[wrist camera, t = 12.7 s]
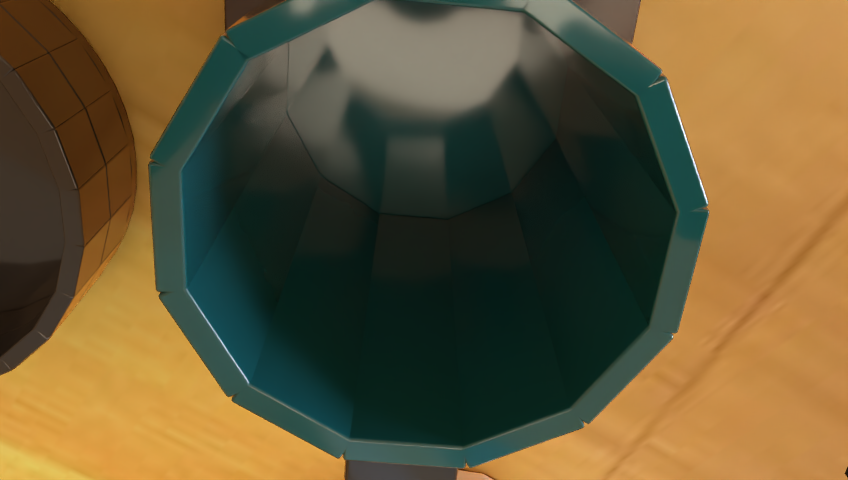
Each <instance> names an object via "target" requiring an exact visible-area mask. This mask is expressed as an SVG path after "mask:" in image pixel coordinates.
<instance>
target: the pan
mask: <svg viewBox="0 0 848 480" xmlns="http://www.w3.org/2000/svg"><path fill="white" fill-rule="evenodd" d="M136 174H137V163H136V156H135V149H134V141H133V136H132V132H131V129H130V125H129V121H128V118H127V114H126V111H125V109H124V106H123V104H122V101H121V99H120V96H119V94H118V92H117V89H116V87H115V85H114V83H113V81H112V79H111V78H110V76H109V74H108V72H107V71H106V69H105V67H104V65H103V63H102V62H101V60H100V59H99V57H98V56H97V54H96V53H95V52H94V50H93V49H92V47H91V46H90V45H89V43H88V42H87V40H86V39H85V38H84V36H83V35H82V34H81V33H80V32H79V31H78V30H77V28H76V27H75V26H74V25H73V24H72V23H71V22H70V21H69V20H68V18H67V17H66V16H65V15H64V14H63V13H62V12H61V11H60V10H59V9H58V8H57V7H55V6H54V5H53V4H52V3H51V2H50V1H49V0H0V375H2V374H5V373H7V372H9V371H12V370H13V369H15V368H16V367H17V366H19V365H20V364H21V363H22V362H23V361H24V360H26V359H27V358H28V357H29V356H30V355H31V354H33V353H34V352H35V351H36V350H37V349H38V348H40V347H41V346H42V345H43V344H44V343H45V342H47V341H48V340H49V339H50V338H51V336H52V335H53V334H54V333H55V331H56V330H57V329H58V328H59V326H60V325H61V324H62V323H63V322H64V320H65V319H66V318H67V317H68V315H69V314H70V313H71V312H72V310H73V309H74V308H75V307H76V305H77V304H78V303H79V302H80V300H81V299H82V298H83V297H84V295H85V294H86V293H87V292H88V290H89V289H90V288H91V287H92V286H93V284H94V283H95V282H96V281H97V279H98V278H99V277H100V276H101V274H102V272H103V271H104V269H105V267H106V266H107V264H108V263H109V261H110V260H111V258H112V257H113V256H114V254H115V253H116V251H117V250H118V248H119V246H120V244H121V242H122V240H123V238H124V236H125V234H126V231H127V228H128V225H129V222H130V219H131V215H132V212H133V207H134V201H135V194H136Z"/></svg>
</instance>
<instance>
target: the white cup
mask: <svg viewBox="0 0 848 480" xmlns="http://www.w3.org/2000/svg"><path fill="white" fill-rule="evenodd" d="M457 480H493V479H492V478H490V477H488V476H486V475H485V474H482V473H475V472H469V471H462V470H458V474H457Z"/></svg>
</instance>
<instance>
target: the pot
mask: <svg viewBox="0 0 848 480" xmlns="http://www.w3.org/2000/svg"><path fill="white" fill-rule="evenodd" d="M150 158H151V159H152V160H151V161H150V162H149V164H148V169H149V185H150V202H151V219H152V235H153V252H154V268H155V285H156V290H157V291H158V292H160V294H159V299H160V300H161V302H162V303H163V305H164V306H165V307H166V309H167V310H168V312H169V313H170V315H171V316H172V318H173V319H174V320H175V322H176V323H177V325H178V326H179V328H180V329H181V331H182V332H183V334H184V335H185V336H186V338H187V339H188V341H189V342H190V344H191V345H192V347H193V348H194V349H195V351H196V352H197V354H198V355H199V357H200V358H201V360H202V361H203V362H204V364H205V365H206V367H207V368H208V370H209V371H210V373H211V374H212V376H213V377H214V378H215V380H216V381H217V383H218V384H219V386H220V387H221V389H222V390H223V391H224V393H225V394H226V396H228V397H230V396H233V397H232V401H233V402H234V403H236V404H238V405H239V406H241V407H243V408H245V409H247V410H249V411H251V412H252V413H254V414H256V415H258V416H260V417H262V418H263V419H265V420H267V421H269V422H271V423H273V424H275V425H276V426H278V427H280V428H282V429H284V430H286V431H288V432H289V433H291V434H293V435H295V436H297V437H299V438H301V439H302V440H304V441H306V442H308V443H310V444H312V445H314V446H315V447H317V448H319V449H321V450H323V451H325V452H327V453H328V454H330V455H332V456H334V457H336V458H340V457H341V456H342V454H343V458H344V460H345V472H344V478H345V480H457V474H458V468H460V469H463V468H465V466H466V463H467V465H468V467H469V468H472V467H475V466H478V465H481V464H483V463H486V462H489V461H492V460H495V459H497V458H500V457H503V456H506V455H509V454H511V453H514V452H517V451H520V450H523V449H525V448H528V447H531V446H534V445H537V444H539V443H542V442H545V441H548V440H551V439H553V438H556V437H559V436H562V435H565V434H567V433H570V432H573V431H576V430H579V429H581V428H583V427H584V422H585V423H587V424H589V423H591V422H592V421H593V420H594V418H595V417H596V416H597V415H598V414H599V413H600V412H601V411H602V410H603V409H604V408H605V407H606V406H607V405H608V404H609V403H610V402H611V401H612V400H613V399H614V398H615V397H616V396H617V395H618V394H619V393H620V392H621V391H622V390H623V389H624V388H625V387H626V386H627V385H628V384H629V383H630V382H631V381H632V380H633V379H634V378H635V377H636V376H637V375H638V374H639V373H640V372H641V371H642V370H643V369H644V368H645V367H646V366H647V365H648V364H649V363H650V362H651V361H652V360H653V359H654V358H655V357H656V356H657V354H658V353H659V352H660V351H661V350H662V349H663V348H664V347H665V346H666V345H667V344H668V343H669V342H670V341H671V340H672V339H673V337H674V336H673V334H672V333H677V332H678V329H679V325H680V321H681V317H682V314H683V310H684V306H685V302H686V299H687V295H688V291H689V287H690V284H691V280H692V276H693V272H694V268H695V265H696V261H697V257H698V253H699V250H700V246H701V242H702V238H703V234H704V231H705V227H706V223H707V219H708V216H709V210H708V208H707V206H708V199H707V196H706V193H705V190H704V187H703V184H702V181H701V178H700V175H699V172H698V169H697V166H696V163H695V160H694V157H693V154H692V151H691V148H690V145H689V142H688V139H687V136H686V133H685V130H684V127H683V124H682V121H681V118H680V115H679V112H678V109H677V106H676V103H675V100H674V97H673V94H672V91H671V88H670V85H669V82H668V79H667V77H666V76H665V75H663V74H662V70H661V68H660V67H658V66H657V65H656V64H655V63H654V62H652V61H651V60H650V59H649V58H647V57H646V56H645V55H644V54H643V53H641V52H640V51H639V50H638V49H637V48H635V47H634V46H633V45H632V44H631V43H629V42H628V41H627V40H626V39H625V38H623V37H622V36H621V35H620V34H619V33H617V32H616V31H615V30H614V29H613V28H611V27H610V26H609V25H608V24H607V23H605V22H604V21H603V20H602V19H601V18H599V17H598V16H597V15H596V14H595V13H593V12H592V11H591V10H590V9H589V8H587V7H586V6H585V5H584V4H582V3H581V2H580V1H579V0H263V1H262V2H261V3H260V4H258V5H257V6H256V7H255V8H253V9H252V10H251V11H249V12H248V13H247V14H246V15H244V16H243V17H242V18H241V19H239V20H238V21H237V22H236V23H234V24H233V25H232V26H231V27H229V28H228V29H227V30H226V32H224V33H223V34H222V35H221V36H220V37H219V38H218V40H217V42H216V43H215V45H214V47H213V48H212V50H211V52H210V54H209V55H208V57H207V59H206V60H205V62H204V64H203V66H202V67H201V69H200V71H199V72H198V74H197V76H196V77H195V79H194V81H193V83H192V84H191V86H190V88H189V89H188V91H187V93H186V95H185V96H184V98H183V100H182V101H181V103H180V105H179V106H178V108H177V110H176V112H175V113H174V115H173V117H172V118H171V120H170V122H169V124H168V125H167V127H166V129H165V130H164V132H163V134H162V135H161V137H160V139H159V141H158V142H157V144H156V146H155V147H154V149H153V151H152V153H151V154H150ZM583 421H584V422H583Z"/></svg>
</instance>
